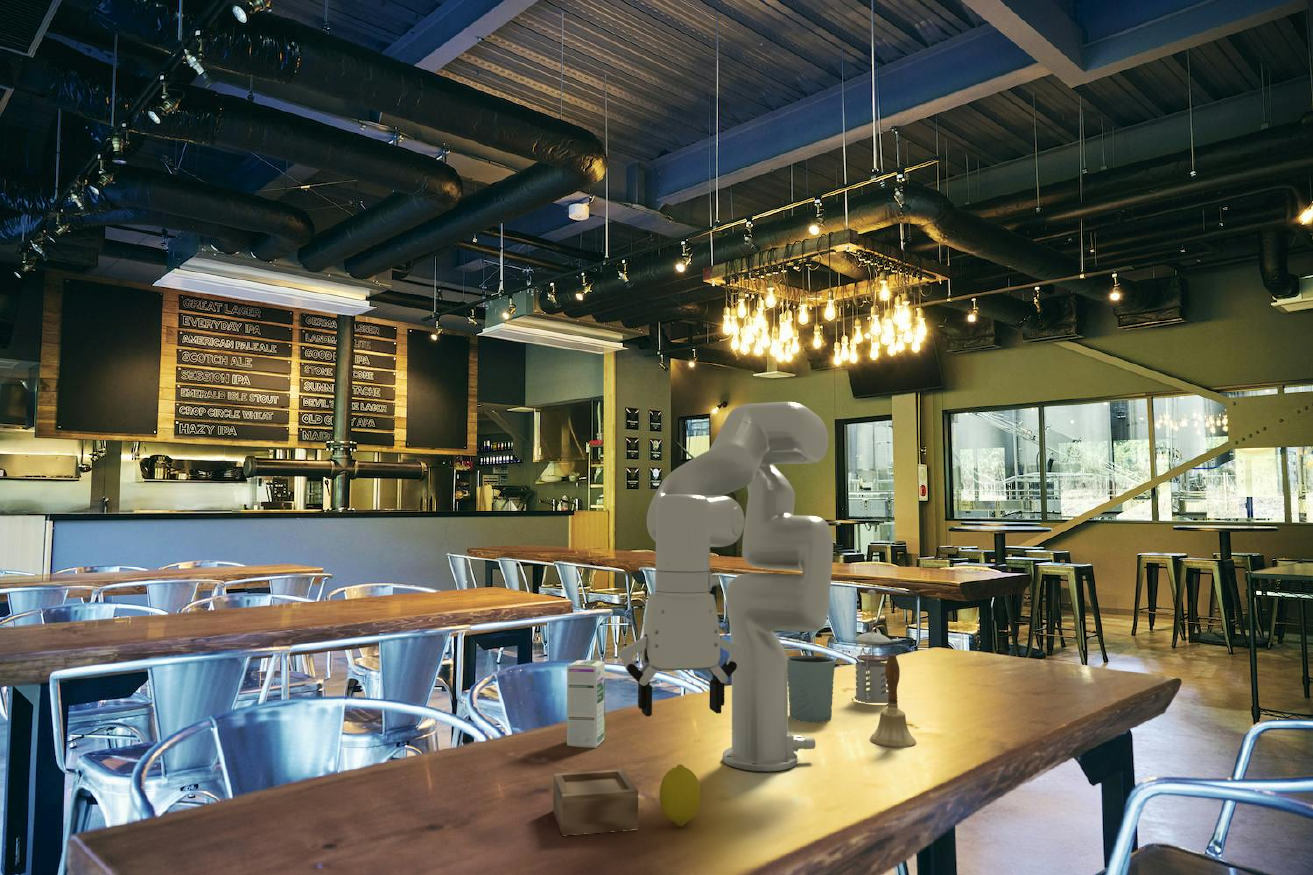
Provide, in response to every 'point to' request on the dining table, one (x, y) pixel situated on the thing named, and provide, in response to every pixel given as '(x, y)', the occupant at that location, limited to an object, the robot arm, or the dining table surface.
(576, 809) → the brown wooden tray
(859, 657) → the french press
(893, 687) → the hand bell
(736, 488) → the robot arm
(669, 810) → the lemon
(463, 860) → the dining table surface
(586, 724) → the syrup box
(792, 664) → the grey teal cup
